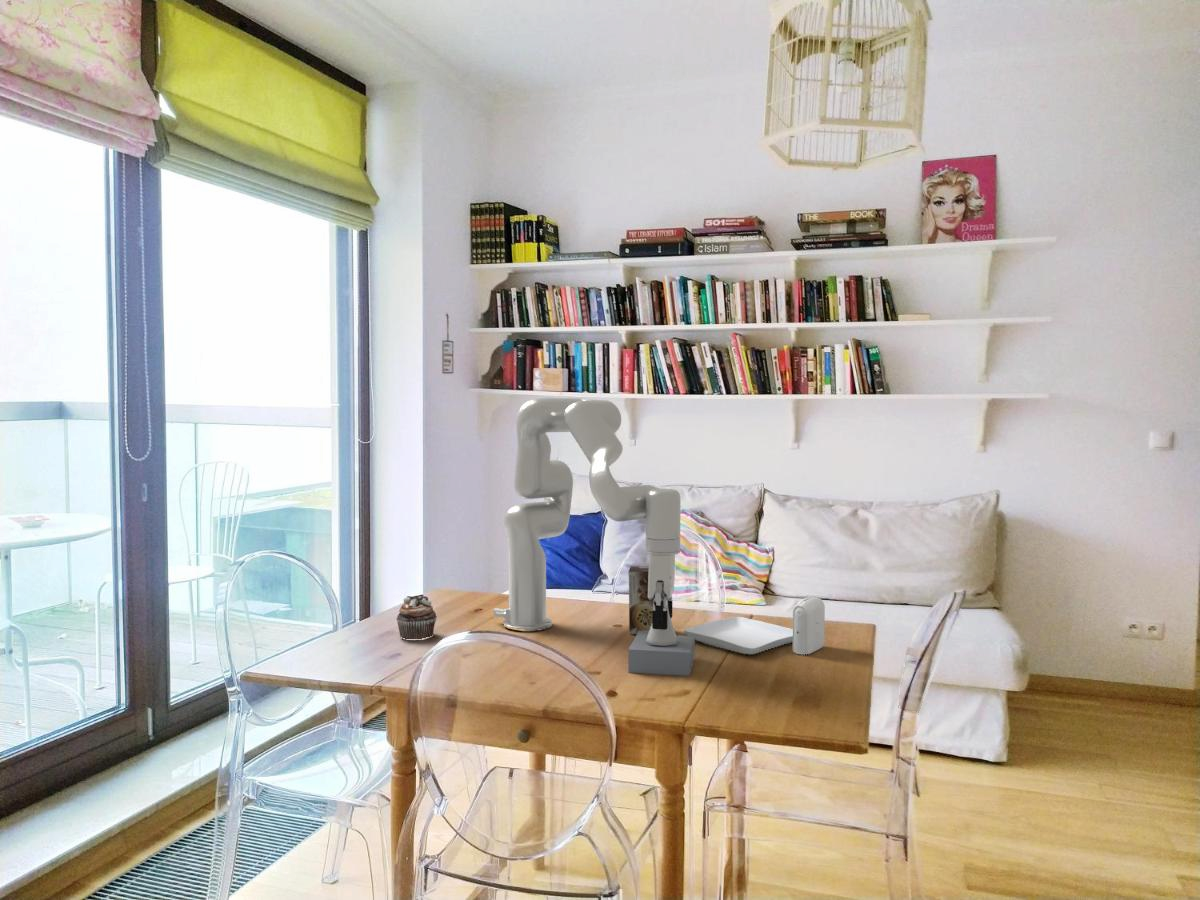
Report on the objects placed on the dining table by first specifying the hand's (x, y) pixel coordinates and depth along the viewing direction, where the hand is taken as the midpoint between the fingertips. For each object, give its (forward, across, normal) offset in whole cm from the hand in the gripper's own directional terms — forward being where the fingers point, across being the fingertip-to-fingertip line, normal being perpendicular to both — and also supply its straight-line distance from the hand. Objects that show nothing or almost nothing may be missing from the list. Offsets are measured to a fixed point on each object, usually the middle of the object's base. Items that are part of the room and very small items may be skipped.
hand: (662, 623), depth 194 cm
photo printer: (+10, -18, +32) cm, 38 cm away
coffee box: (+10, -27, -7) cm, 29 cm away
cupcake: (+10, -12, -62) cm, 64 cm away
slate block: (+9, 0, 0) cm, 9 cm away
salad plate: (+10, -22, +17) cm, 30 cm away
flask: (+4, 0, 0) cm, 5 cm away
